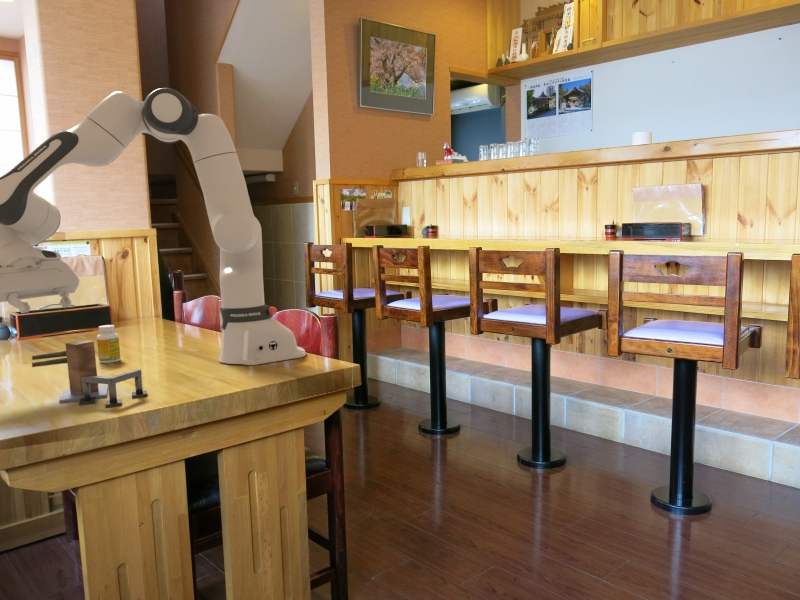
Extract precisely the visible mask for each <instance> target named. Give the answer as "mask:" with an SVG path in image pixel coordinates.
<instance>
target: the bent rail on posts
mask: <svg viewBox="0 0 800 600" xmlns="http://www.w3.org/2000/svg"><path fill="white" fill-rule="evenodd" d="M81 378H82V385H83V394H84V398H82V399H80V401H78V402H79V406H84V405H89V404H91V405H92V404H96V403H97V398H96V397H91V389H90V383H98V385H99V384H100V385H108V398H109V400H105V405H104V407H105V408H113V407H120V406H123V404H122V403H123V401H122V398H120V399H119V398H118V395H117V385H116V384H118V383H121V382H125V381H128V380H130V379H134V388H135V391H132V392H131V399H137V398H144V397H148V391H147V390H143V389H144V388H143V379H142V378H143V377H142V369H134V370H131V371H130V370H129V371H127V372H123V373H120V374H116V375H113V376H102V375H97V376H91V375H85V376H81Z"/></svg>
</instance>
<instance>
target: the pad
mask: <svg viewBox="0 0 800 600" xmlns="http://www.w3.org/2000/svg"><path fill="white" fill-rule="evenodd" d="M98 390H99V391H97V392H94V393H91V397H96V399H102V398H107V397H108V392H109V389H108V384H104V385H100V386H99V385H98ZM82 398H84V395H82V396H80V395H75V394H71V393H70V389H67V390H66V389H65V390H63V391H62V392H61V395H60V398H59V401H58V402H59V404H62V403H71V402H80V399H82Z"/></svg>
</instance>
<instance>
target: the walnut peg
mask: <svg viewBox="0 0 800 600" xmlns="http://www.w3.org/2000/svg"><path fill="white" fill-rule="evenodd" d="M95 350H96V349H95V342H94V341H92V340H86V339H84V340H77V341H72V342H66V343H65V351H66V354H67V356H66V357H67V362H66V364H67V372H68V381H69V382H68V383H69V390H70V393H71V394H75V395H80V396H82V395H84V394H83V385H82V378H81V376H85V375H91V376H98V370H97V360H96V359H97V358H96V351H95ZM98 386H99V383H90V389H91V393H94V392H97V391H99V390H98Z"/></svg>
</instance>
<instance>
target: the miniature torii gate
mask: <svg viewBox="0 0 800 600" xmlns="http://www.w3.org/2000/svg"><path fill="white" fill-rule="evenodd" d="M57 357H58V358H57ZM61 357H62V358H61ZM31 358H32V360H40V361H35V362H31V367H32V368H33V367H41V366H48V365H49V366H50V365H57V364H67V354H66V350H63V351H62V350H61V351H57V352H49V353H43V354H37V355H32V357H31ZM50 358H55V359H50ZM41 359H47V360H42V361H41ZM48 359H49V360H48Z"/></svg>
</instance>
